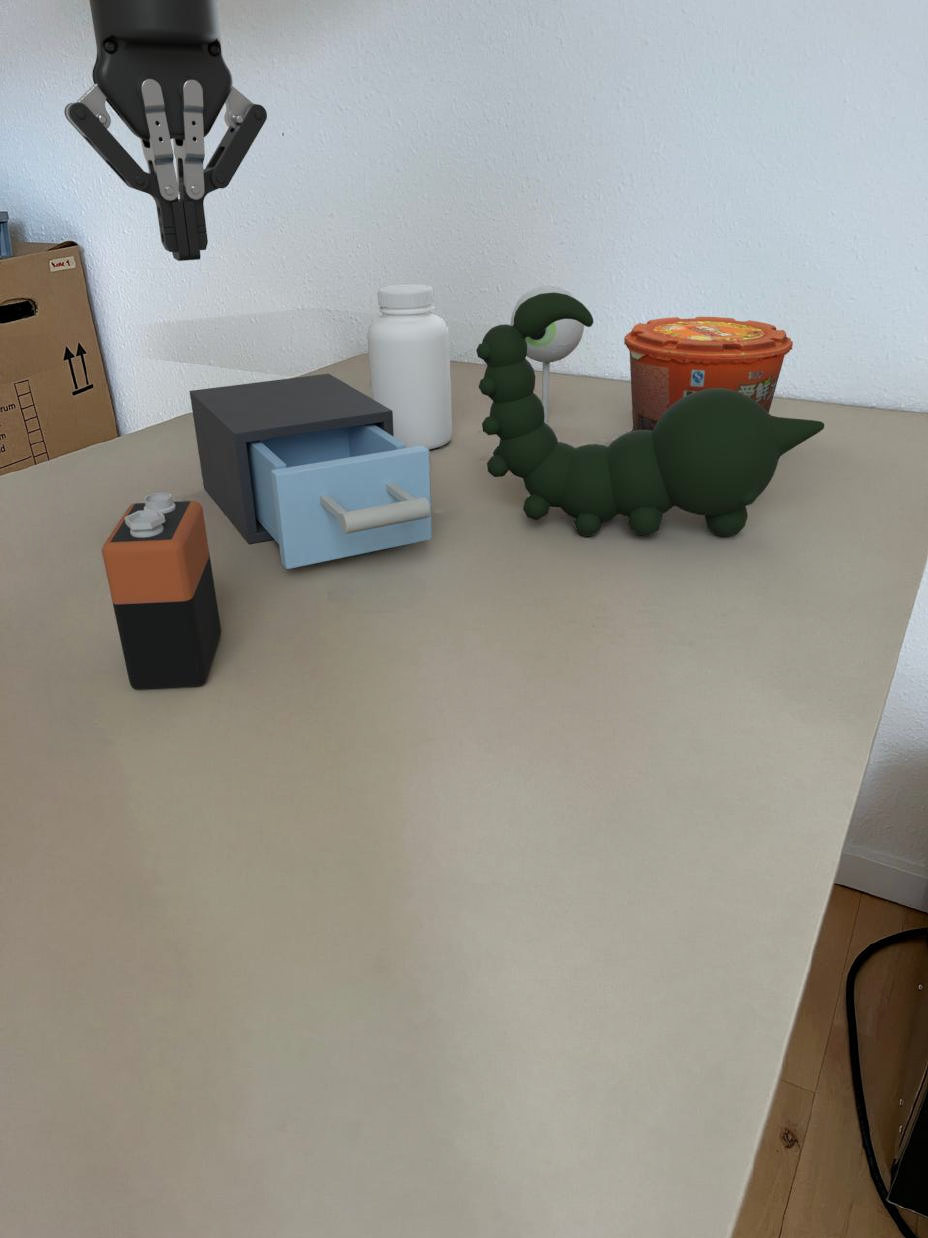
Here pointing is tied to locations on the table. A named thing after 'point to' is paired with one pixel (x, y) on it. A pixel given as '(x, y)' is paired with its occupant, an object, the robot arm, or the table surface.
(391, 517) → the drawer
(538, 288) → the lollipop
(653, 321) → the food container
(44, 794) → the table surface
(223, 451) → the dark grey box
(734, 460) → the toy figurine
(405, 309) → the pill bottle
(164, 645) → the battery
